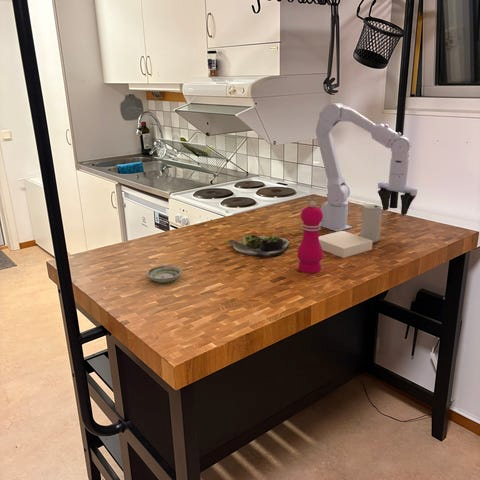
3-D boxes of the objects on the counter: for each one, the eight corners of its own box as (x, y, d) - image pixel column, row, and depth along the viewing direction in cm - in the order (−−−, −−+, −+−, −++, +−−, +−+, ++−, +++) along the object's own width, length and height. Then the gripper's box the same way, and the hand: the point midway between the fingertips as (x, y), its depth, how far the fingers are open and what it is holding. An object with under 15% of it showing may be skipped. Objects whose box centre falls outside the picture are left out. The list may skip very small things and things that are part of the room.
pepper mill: (292, 266, 138) (294, 199, 131) (314, 263, 140) (317, 197, 134) (304, 275, 131) (307, 205, 125) (327, 271, 134) (330, 202, 127)
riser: (313, 246, 154) (314, 237, 153) (341, 239, 161) (342, 230, 160) (343, 257, 144) (344, 248, 143) (371, 249, 151) (372, 240, 150)
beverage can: (379, 244, 156) (383, 208, 152) (359, 242, 157) (362, 207, 153) (378, 238, 162) (381, 203, 158) (359, 236, 163) (361, 203, 159)
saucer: (189, 278, 130) (189, 270, 129) (162, 290, 123) (161, 281, 122) (166, 270, 136) (166, 262, 135) (139, 280, 129) (138, 272, 128)
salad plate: (217, 253, 149) (217, 240, 148) (240, 237, 165) (240, 224, 163) (275, 262, 142) (275, 247, 140) (293, 244, 157) (294, 231, 156)
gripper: (424, 174, 156) (419, 214, 160) (388, 168, 167) (384, 206, 171) (411, 177, 152) (406, 218, 156) (375, 171, 163) (372, 209, 168)
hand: (394, 212), depth 164 cm, fingers open, 7 cm apart
